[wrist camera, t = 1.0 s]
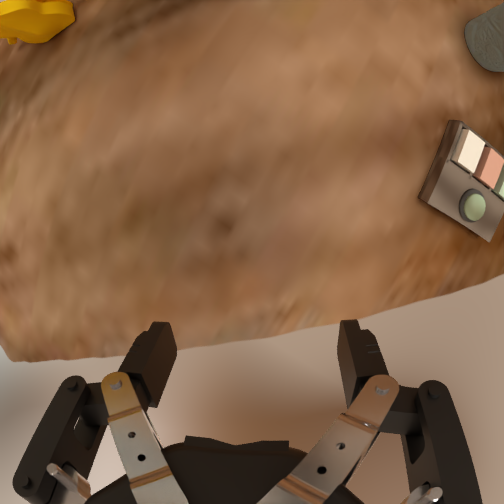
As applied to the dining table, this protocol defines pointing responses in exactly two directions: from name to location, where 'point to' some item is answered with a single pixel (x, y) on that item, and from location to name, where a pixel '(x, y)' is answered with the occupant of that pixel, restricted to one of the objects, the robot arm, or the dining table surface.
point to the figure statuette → (34, 19)
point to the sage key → (500, 185)
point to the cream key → (467, 150)
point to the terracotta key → (488, 167)
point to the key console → (461, 188)
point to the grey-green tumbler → (487, 38)
